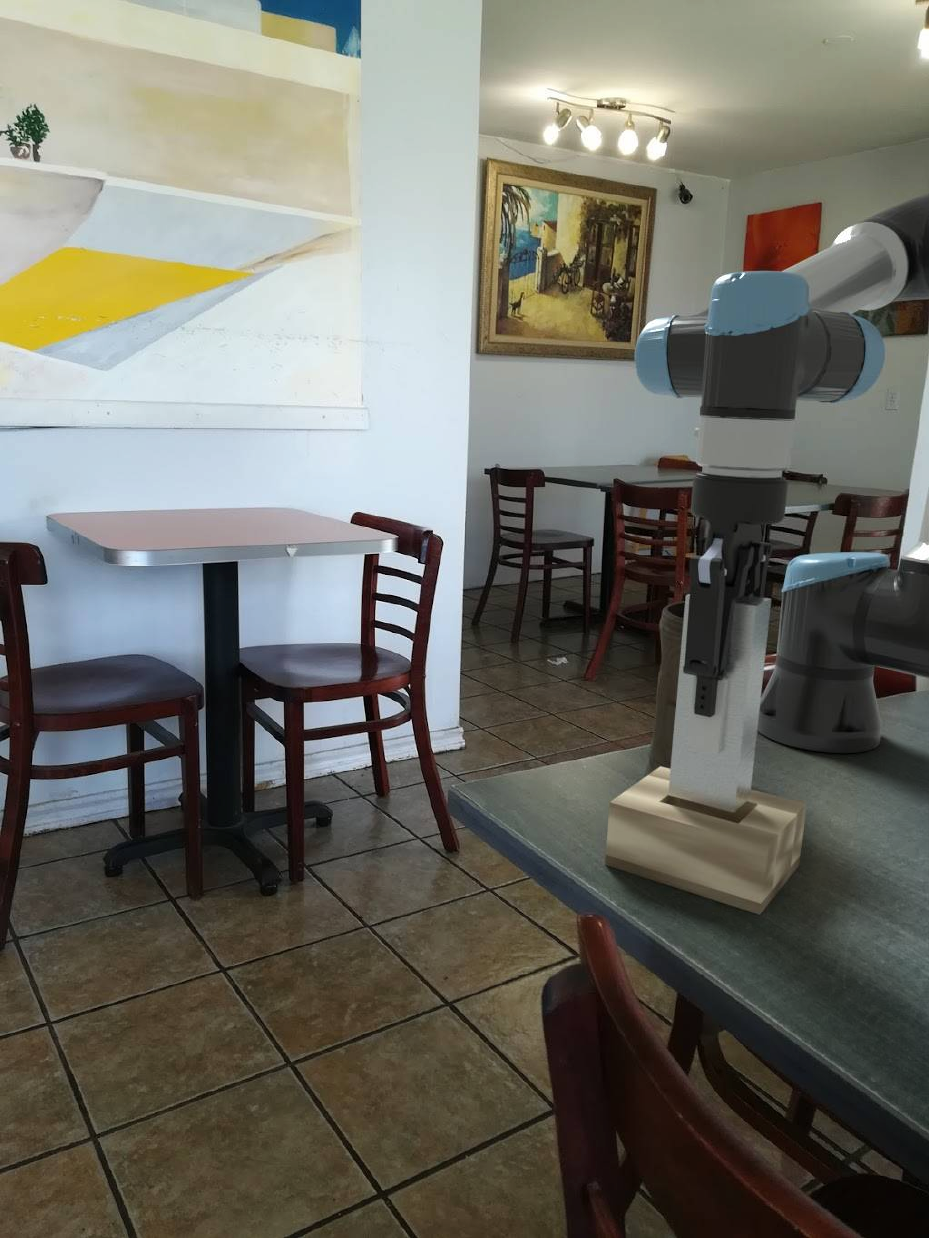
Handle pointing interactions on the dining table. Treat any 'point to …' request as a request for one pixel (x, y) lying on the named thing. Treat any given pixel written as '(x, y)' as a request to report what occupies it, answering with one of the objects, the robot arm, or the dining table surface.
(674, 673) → the beer stein
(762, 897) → the well block
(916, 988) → the dining table surface
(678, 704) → the tall grey pillar
